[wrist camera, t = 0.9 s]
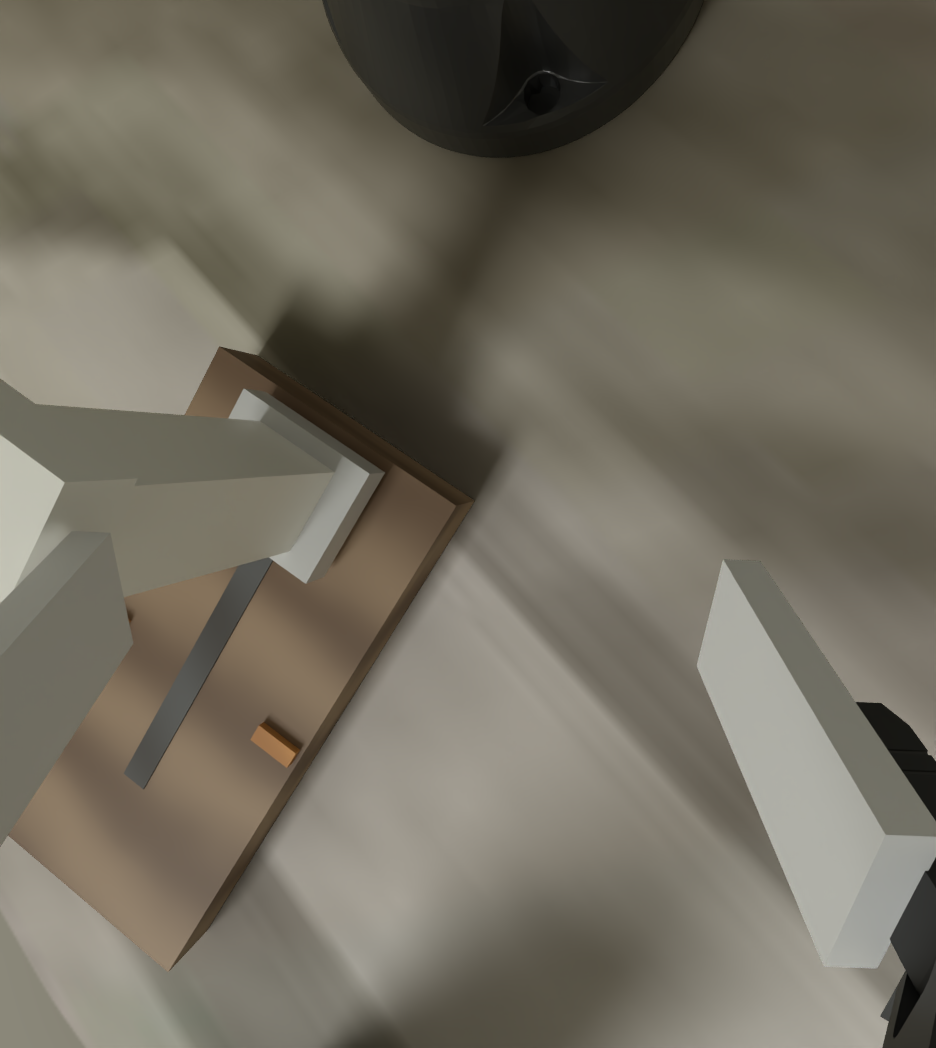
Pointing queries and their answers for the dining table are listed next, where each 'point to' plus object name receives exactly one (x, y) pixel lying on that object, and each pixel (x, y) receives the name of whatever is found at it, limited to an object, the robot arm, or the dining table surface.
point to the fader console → (229, 695)
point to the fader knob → (176, 489)
